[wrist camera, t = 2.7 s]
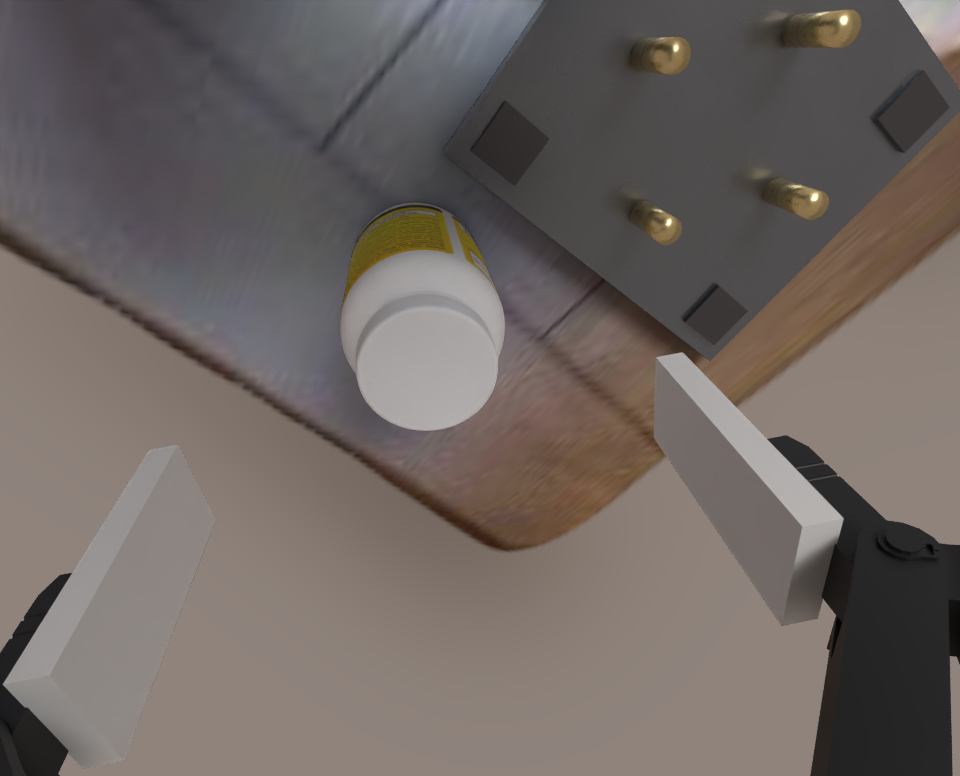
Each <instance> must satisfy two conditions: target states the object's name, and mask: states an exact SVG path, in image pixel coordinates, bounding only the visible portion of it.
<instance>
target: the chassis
mask: <svg viewBox="0 0 960 776" xmlns="http://www.w3.org/2000/svg"><path fill="white" fill-rule="evenodd" d="M959 111H960V90H959V89H958V87H957V86H956V84H955V83H954V81H953V80H952V78H951V77H950V75H949V74H948V72H947V71H946V70H945V68H944V67H943V65H942V64H941V62H940V61H939V59H938V58H937V56H936V55H935V53H934V52H933V50H932V49H931V47H930V46H929V45H928V43H927V42H926V40H925V39H924V37H923V36H922V34H921V33H920V31H919V30H918V28H917V27H916V25H915V24H914V22H913V21H912V20H911V18H910V17H909V15H908V14H907V12H906V11H905V9H904V8H903V6H902V5H901V3H900V2H899V0H544V1H543V2H542V4H541V5H540V7H539V8H538V10H537V11H536V13H535V14H534V16H533V17H532V19H531V20H530V22H529V23H528V25H527V26H526V28H525V29H524V31H523V32H522V34H521V35H520V37H519V38H518V40H517V41H516V43H515V44H514V46H513V47H512V49H511V50H510V52H509V53H508V55H507V56H506V58H505V59H504V60H503V62H502V63H501V65H500V66H499V68H498V69H497V71H496V72H495V74H494V75H493V77H492V78H491V80H490V81H489V83H488V84H487V86H486V87H485V89H484V90H483V92H482V93H481V95H480V96H479V98H478V99H477V101H476V102H475V104H474V105H473V107H472V108H471V110H470V111H469V113H468V114H467V116H466V117H465V118H464V120H463V121H462V123H461V124H460V126H459V127H458V129H457V130H456V132H455V133H454V135H453V136H452V138H451V139H450V141H449V142H448V144H447V145H446V147H445V148H444V150H443V152H444V155H445V156H447V157H448V158H449V159H450V160H452V161H453V162H454V163H456V164H457V165H458V166H459V167H461V168H462V169H463V170H465V171H466V172H467V173H468V174H470V175H471V176H472V177H474V178H475V179H476V180H477V181H479V182H480V183H481V184H483V185H484V186H485V187H486V188H488V189H489V190H490V191H492V192H493V193H494V194H495V195H497V196H498V197H499V198H501V199H502V200H503V201H504V202H506V203H507V204H508V205H510V206H511V207H512V208H513V209H515V210H516V211H517V212H519V213H520V214H521V215H522V216H524V217H525V218H526V219H528V220H529V221H530V222H531V223H533V224H534V225H535V226H537V227H538V228H539V229H540V230H542V231H543V232H544V233H546V234H547V235H548V236H549V237H551V238H552V239H553V240H555V241H556V242H557V243H558V244H560V245H561V246H562V247H564V248H565V249H566V250H567V251H569V252H570V253H571V254H573V255H574V256H575V257H576V258H578V259H579V260H580V261H582V262H583V263H584V264H585V265H587V266H588V267H589V268H591V269H592V270H593V271H594V272H596V273H597V274H598V275H600V276H601V277H602V278H604V279H605V280H606V281H607V282H609V283H610V284H611V285H613V286H614V287H615V288H616V289H618V290H619V291H620V292H622V293H623V294H624V295H625V296H627V297H628V298H629V299H631V300H632V301H633V302H634V303H636V304H637V305H638V306H640V307H641V308H642V309H643V310H645V311H646V312H647V313H649V314H650V315H651V316H652V317H654V318H655V319H656V320H658V321H659V322H660V323H661V324H663V325H664V326H665V327H667V328H668V329H669V330H670V331H672V332H673V333H674V334H676V335H677V336H678V337H679V338H681V339H682V340H683V341H685V342H686V343H687V344H688V345H690V346H691V347H692V348H694V349H695V350H696V351H697V352H699V353H700V354H701V355H703V356H704V357H705V358H706V359H708V360H709V361H711V360H712V359H713V358H714V357H715V356H716V355H717V354H718V353H719V352H720V351H721V350H722V349H723V348H724V347H725V346H726V345H727V344H728V343H729V342H730V341H731V340H732V339H733V338H734V337H735V336H736V335H737V334H738V333H739V332H740V331H741V330H742V329H743V328H744V327H745V326H746V325H747V324H748V323H749V322H750V321H751V320H752V319H753V318H754V317H755V316H756V315H757V314H758V313H759V312H760V311H761V310H762V309H763V308H764V307H765V306H766V305H767V304H768V303H769V302H770V301H771V300H772V299H773V298H774V297H775V296H776V295H777V294H778V293H779V292H780V291H781V290H782V289H783V288H784V287H785V286H786V285H787V284H788V283H789V282H790V281H791V280H792V279H793V278H794V277H795V276H796V275H797V274H798V273H799V272H800V271H801V270H802V269H803V268H804V267H805V266H806V265H807V264H808V263H809V262H810V261H811V260H812V259H813V258H814V257H815V256H816V255H817V254H818V253H819V252H820V251H821V250H822V249H823V248H824V247H825V246H826V245H827V244H828V243H829V242H830V241H831V240H832V239H833V238H834V237H835V236H836V235H837V233H838V232H839V231H840V230H841V229H842V228H843V227H844V226H845V225H846V224H847V223H848V222H849V221H850V220H851V219H852V218H853V217H854V216H855V215H856V214H857V213H858V212H859V211H860V210H861V209H862V208H863V207H864V206H865V205H866V204H867V203H868V202H869V201H870V200H871V199H872V198H873V197H874V196H875V195H876V194H877V193H878V192H879V191H880V190H881V189H882V188H883V187H884V186H885V185H886V184H887V183H888V182H889V181H890V180H891V179H892V178H893V177H894V176H895V175H896V174H897V173H898V172H899V171H900V170H901V169H902V168H903V167H904V166H905V165H906V164H907V163H908V162H909V161H910V160H911V159H912V158H913V157H914V156H915V155H916V154H917V153H918V152H919V151H920V150H921V149H922V148H923V147H924V146H925V145H926V144H927V143H928V142H929V141H930V140H931V139H932V138H933V137H934V136H935V135H936V134H937V133H938V132H939V131H940V130H941V129H942V128H943V127H944V126H945V125H946V124H947V123H948V122H949V121H950V120H951V119H952V118H953V117H954V116H955V115H956V114H957V113H958V112H959Z"/></svg>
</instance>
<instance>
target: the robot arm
mask: <svg viewBox="0 0 960 776" xmlns="http://www.w3.org/2000/svg"><path fill="white" fill-rule="evenodd" d="M654 439H655V440H656V442H657V443H658V445H659V446H660V448H661V449H662V451H663V452H664V453H665V455H666V456H667V458H668V459H669V461H670V462H671V464H672V465H673V467H674V468H675V470H676V471H677V473H678V474H679V476H680V477H681V478H682V480H683V481H684V483H685V484H686V486H687V487H688V489H689V490H690V492H691V493H692V495H693V496H694V498H695V499H696V501H697V502H698V504H699V505H700V507H701V508H702V510H703V511H704V512H705V514H706V515H707V517H708V518H709V520H710V521H711V523H712V524H713V526H714V527H715V529H716V530H717V532H718V533H719V535H720V536H721V537H722V539H723V541H724V542H725V543H726V545H727V546H728V548H729V549H730V551H731V552H732V554H733V555H734V557H735V558H736V560H737V561H738V563H739V564H740V566H741V567H742V569H743V570H744V572H745V573H746V574H747V576H748V577H749V579H750V580H751V582H752V583H753V585H754V586H755V588H756V589H757V591H758V592H759V594H760V595H761V597H762V598H763V600H764V601H765V603H766V604H767V606H768V607H769V608H770V610H771V611H772V613H773V614H774V616H775V617H776V619H777V620H778V622H779V623H780V625H781V626H783V625H788V624H792V623H798V622H803V621H808V620H813V619H817V618H818V615H819V611H820V608H821V604H822V600H823V599H824V600H825V602H826V603H827V604H828V605H829V607H830V608H831V609H832V610H833V612H834V613H835V614H836V618H835V621H834V625H833V628H832V632H831V635H830V639H829V642H828V646H827V649H828V650H830V651H829V657H828V664H827V671H826V677H825V684H824V690H823V697H822V703H821V710H820V716H819V723H818V730H817V736H816V743H815V749H814V756H813V762H812V769H811V775H810V776H952V736H951V699H950V698H951V693H950V656H956V657H957V658H958V661H959V664H960V545H949V544H948V545H947V544H940V543H938V542H937V541H936V540H935V539H934V538H933V537H932V536H930V535H929V534H927V533H925V532H924V531H922V530H920V529H919V528H916V527H913V526H910V525H907V524H904V523H900V522H893V521H887V520H885V519H884V518H883V517H882V516H881V515H880V514H879V513H878V512H877V511H876V510H875V509H874V508H873V507H872V506H871V505H870V504H869V503H867V502H866V501H865V500H864V499H863V498H862V497H861V496H860V495H859V494H858V493H857V492H856V491H855V490H854V489H853V488H852V487H851V486H849V485H848V484H847V483H846V482H845V481H844V480H843V479H842V478H841V477H838V476H837V473H836V472H835V471H834V470H833V469H831V468H830V467H829V466H828V465H827V464H826V465H825V464H824V461H823V460H822V459H821V458H820V457H819V456H818V455H817V454H816V453H815V452H814V451H813V450H811V449H810V448H809V447H808V446H806V445H804V444H802V443H800V442H798V441H796V440H794V439H792V438H790V437H789V436H781V437H775V438H771V439H766V438H765V437H764V436H763V435H762V434H761V433H760V431H759V430H758V429H756V427H755V426H754V425H753V424H752V423H751V422H750V421H749V420H748V419H747V418H746V417H745V416H744V415H743V414H742V413H741V412H740V411H739V410H738V409H737V408H736V407H735V406H734V405H733V404H732V403H731V402H730V401H729V399H728V398H727V397H726V396H725V395H724V394H723V393H722V392H721V391H720V390H719V389H718V388H717V387H716V386H715V385H714V384H713V383H712V382H711V381H710V380H709V379H708V378H707V377H706V376H705V375H704V374H703V373H702V372H701V371H700V370H699V369H698V368H697V366H696V365H695V364H694V363H693V362H692V361H691V360H690V359H689V358H688V357H687V356H686V355H685V354H684V353H683V352H682V353H676V354H671V355H665V356H660V357H656V373H655V410H654ZM215 521H216V519H215V517H214V515H213V513H212V511H211V510H210V507H209V505H208V503H207V501H206V499H205V497H204V495H203V493H202V491H201V489H200V487H199V486H198V483H197V481H196V480H195V477H194V476H193V474H192V472H191V470H190V468H189V466H188V464H187V462H186V460H185V458H184V456H183V454H182V452H181V450H180V448H179V446H178V445H173V446H167V447H162V448H156V449H151V450H149V451H148V452H147V454H146V455H145V457H144V458H143V460H142V462H141V463H140V465H139V467H138V468H137V470H136V471H135V473H134V475H133V476H132V478H131V479H130V481H129V483H128V484H127V486H126V487H125V489H124V491H123V492H122V494H121V495H120V497H119V499H118V500H117V502H116V503H115V505H114V507H113V508H112V510H111V512H110V513H109V515H108V516H107V518H106V520H105V521H104V523H103V525H102V526H101V528H100V529H99V531H98V532H97V534H96V536H95V537H94V539H93V541H92V542H91V544H90V545H89V547H88V549H87V550H86V552H85V553H84V555H83V557H82V558H81V560H80V561H79V563H78V565H77V566H76V568H75V569H74V571H73V573H69V574H63V575H60V576H58V577H57V578H56V579H55V580H54V581H53V582H52V583H51V584H50V585H49V586H48V587H47V588H46V589H45V590H44V591H43V592H42V593H41V594H39V595H38V597H37V598H36V600H35V601H34V603H33V604H32V606H31V607H30V609H29V610H28V612H27V613H26V615H25V616H24V621H21V622H20V624H19V625H18V627H17V629H16V630H15V632H14V633H13V638H12V639H9V641H8V642H7V644H6V645H5V647H4V648H3V650H2V651H1V653H0V776H60V775H59V774H58V773H59V770H60V768H61V766H62V764H63V762H64V760H65V758H66V756H67V753H69V755H70V756H72V757H73V759H74V760H75V761H77V763H78V764H79V765H80V766H81V767H82V768H83V769H85V768H90V767H95V766H100V765H104V764H109V763H114V762H119V761H124V758H125V755H126V753H127V750H128V748H129V745H130V743H131V740H132V738H133V735H134V732H135V730H136V727H137V724H138V721H139V719H140V717H141V714H142V712H143V709H144V706H145V704H146V701H147V698H148V696H149V693H150V691H151V688H152V685H153V683H154V680H155V678H156V675H157V672H158V670H159V667H160V665H161V662H162V659H163V657H164V654H165V651H166V649H167V646H168V644H169V641H170V639H171V636H172V633H173V631H174V628H175V626H176V623H177V620H178V617H179V615H180V613H181V610H182V607H183V604H184V602H185V600H186V597H187V594H188V592H189V589H190V587H191V584H192V581H193V579H194V576H195V574H196V571H197V568H198V566H199V563H200V560H201V558H202V555H203V553H204V550H205V547H206V545H207V542H208V540H209V537H210V534H211V532H212V529H213V527H214V524H215Z"/></svg>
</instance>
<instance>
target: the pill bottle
mask: <svg viewBox="0 0 960 776" xmlns="http://www.w3.org/2000/svg"><path fill="white" fill-rule="evenodd" d="M340 335H341V342H342V347H343V350H344V353H345V356H346V358H347V361H348V363H349V365H350V366H351V368H352V369H353V371H354V372H355V374H356V377H357V382H358V386H359V389H360V392H361V394H362V396H363V397H364V399H365V401H366V402H367V403H368V405H369V406H370V407H371V408H372V409H373V410H374V411H375V412H376V413H377V414H378V415H379V416H381V417H382V418H384V419H385V420H387V421H389V422H390V423H392V424H395V425H397V426H400V427H403V428H407V429H411V430H419V431H434V430H441V429H446V428H449V427H452V426H455V425H457V424H459V423H461V422H463V421H465V420H467V419H468V418H470V417H471V416H473V415H474V414H475V413H476V412H477V411H479V410H480V409H481V407H482V406H483V405H484V404H485V403H486V401H487V400H488V399H489V397H490V395H491V394H492V392H493V389H494V387H495V384H496V380H497V375H498V358H499V356H500V353H501V350H502V347H503V343H504V337H505V317H504V312H503V308H502V304H501V301H500V298H499V296H498V293H497V291H496V288H495V286H494V284H493V281H492V279H491V277H490V274H489V272H488V269H487V267H486V264H485V262H484V260H483V258H482V255H481V253H480V251H479V249H478V246H477V244H476V242H475V240H474V238H473V237H472V235H471V233H470V232H469V230H468V229H467V228H466V226H465V225H464V224H463V223H462V222H461V221H460V220H459V219H458V218H457V217H455V216H454V215H453V214H451V213H450V212H448V211H446V210H444V209H442V208H440V207H437V206H434V205H430V204H425V203H404V204H400V205H396V206H393V207H390V208H388V209H386V210H384V211H383V212H381V213H379V214H378V215H377V216H375V217H374V218H373V219H372V220H371V221H370V222H369V223H368V224H367V225H366V226H365V227H364V229H363V230H362V232H361V233H360V235H359V236H358V238H357V241H356V243H355V246H354V249H353V252H352V256H351V261H350V267H349V273H348V278H347V284H346V289H345V295H344V300H343V305H342V312H341V319H340Z"/></svg>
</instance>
